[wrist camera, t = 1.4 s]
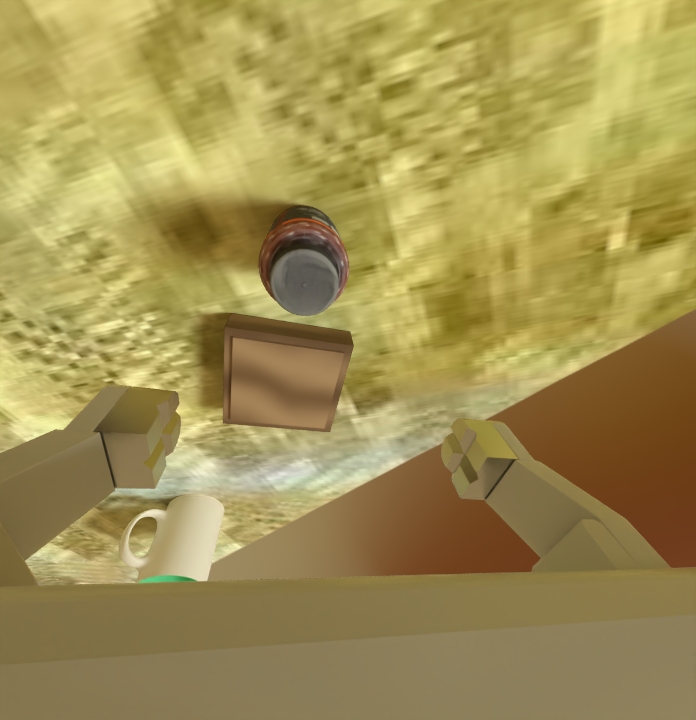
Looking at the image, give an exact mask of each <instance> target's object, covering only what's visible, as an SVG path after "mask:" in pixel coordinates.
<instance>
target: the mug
mask: <svg viewBox="0 0 696 720" xmlns="http://www.w3.org/2000/svg"><path fill="white" fill-rule="evenodd" d="M223 514H224V507H223V505H222V504H221V503H220V502H219V501H218V500H216V499H214V498H212V497H210V496H206V495H201V494H187V495H182V496H178V497H176V498H174V499H173V500H171V501H170V503H169V504H168V507H167V509H166V510H160V509H150V510H146V511H144V512H142V513H140V514H138V515H137V516H136V517H135V518H133V519H132V520H131V522H130V523H129V524H128V525H127V527H126V528H125V530H124V532H123V534H122V536H121V539H120V543H119V555H120V558H121V560H122V561H123V562H124V563H125V564H127V565H128V566H130V567H133V568H135V569H137V570H138V571H139V575H138V578H137V581H136V583H151V582H187V581H207V579H208V575H209V571H210V567H211V563H212V559H213V555H214V551H215V547H216V543H217V538H218V534H219V530H220V526H221V522H222V518H223ZM143 517H153V518H155V519H156V521H157V530H156V534H155V537H154V540H153V542H152V545H151V547H150V549H149V551H148V553H147V554H146V555H145V556H143V557H138V556H135V555H134V554H132V553H131V551H130V549H129V546H128V540H129V535H130V532H131V530H132V528H133V526H134V525H135V523H136V522H137V521H138V520H139V519H141V518H143Z"/></svg>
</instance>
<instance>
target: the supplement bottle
mask: <svg viewBox="0 0 696 720" xmlns="http://www.w3.org/2000/svg"><path fill="white" fill-rule="evenodd" d="M259 273H260V277H261V280H262V283H263V285H264V287H265V289H266V290H267V292H268V293H269V294H270V296H271V297H272V298H273V299H274V300H275V301H277V302H278V304H279V305H280V306H281V307H282V308H284V309H285V310H287V311H289V312H291V313H293V314H296V315H301V316H310V315H315V314H318V313H321V312H323V311H324V310H325V309H327V308H328V307H329V306H330V305H331V304H332V303H333V302H334V301H336V300H337V298H338V297H339V296H340V295H341V293H342V292H343V290H344V288H345V286H346V283H347V280H348V276H349V261H348V256H347V253H346V250H345V247H344V245H343V243H342V241H341V239H340V236H339V234H338V232H337V230H336V228H335V226H334V224H333V223H332V221H331V220H330V219H329V217H328V216H327V215H325V214H324V213H323V212H321V211H320V210H318V209H316V208H313V207H309V206H296V207H292V208H290V209H288V210H286V211H284V212H283V213H282V214H281V215H279V217H278V218H277V219H276V220H275V222H274V223H273V225H272V227H271V229H270V231H269V233H268V235H267V237H266V239H265V241H264V243H263V245H262V248H261V251H260V255H259Z"/></svg>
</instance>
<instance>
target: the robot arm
mask: <svg viewBox="0 0 696 720" xmlns="http://www.w3.org/2000/svg"><path fill="white" fill-rule="evenodd" d="M178 405H179V397H178V393H177V392H176V391H169V390H160V389H151V388H143V387H131V386H123V385H114V384H110V385H108V386H105V387H104V388H103V389H102V390H101V391H100V392H99V393H98V394H97V395H96V396H95V397H94V398H93V399H92V401H91V402H90V403H89V404H88V405H87V406H86V407H85V408H84V409H83V410H82V411H81V412H80V413H79V414H78V415H77V416H76V417H75V418H74V419H73V420H72V421H71V422H70V424H69V425H68V426H67V427H66V428H65V429H64V430H53V431H51V432H49V433H46V434H44V435H42V436H40V437H37V438H35V439H33V440H30V441H28V442H26V443H23V444H21V445H19V446H16V447H14V448H12V449H10V450H7V451H5V452H3V453H0V720H696V568H671V567H670V566H669V565H668V564H667V563H666V562H665V561H664V560H663V559H662V558H661V557H660V556H659V554H658V553H657V552H656V551H655V550H654V549H653V548H652V547H651V546H650V545H649V544H648V543H647V541H646V540H645V539H644V538H643V537H642V536H641V535H640V534H639V533H638V532H637V530H636V529H635V528H634V527H633V526H632V525H631V524H630V523H629V522H628V521H627V520H626V519H625V518H624V517H622V516H621V515H619V514H617V513H616V512H615V511H613V510H612V509H610V508H609V507H607V506H606V505H604V504H602V503H601V502H600V501H598V500H597V499H595V498H593V497H592V496H591V495H589V494H587V493H586V492H584V491H583V490H581V489H580V488H578V487H577V486H575V485H574V484H572V483H571V482H569V481H568V480H566V479H565V478H563V477H562V476H560V475H559V474H557V473H556V472H554V471H553V470H551V469H550V468H548V467H547V466H545V465H543V464H542V463H541V462H539V461H534V459H533V458H532V457H531V456H530V454H529V453H528V452H527V451H526V449H525V448H524V447H523V445H522V444H521V443H520V442H519V441H518V439H517V438H516V437H515V436H514V434H513V433H512V432H511V430H510V429H509V428H508V427H507V426H506V424H504V423H502V422H500V421H483V420H472V419H460V418H458V419H457V420H455V421H454V422H453V424H452V426H451V430H452V433H451V434H450V435H448V436H447V437H445V439H444V442H443V444H442V450H441V455H442V460H443V462H444V464H445V467H446V468H447V469H449V470H450V471H451V472H452V473H453V475H452V481H453V484H454V486H455V488H456V490H457V492H458V494H459V496H460V498H462V499H478V500H479V499H480V500H486V503H488V505H489V506H490V507H491V508H492V509H493V510H495V512H496V513H497V514H498V515H499V516H500V517H501V518H502V519H503V520H504V521H505V522H506V523H507V524H508V525H509V526H510V527H511V528H512V529H513V530H514V531H515V532H516V533H517V534H518V535H519V536H520V537H521V538H522V539H523V540H524V541H525V542H526V543H527V544H528V545H529V546H530V547H531V548H532V549H533V550H534V551H535V553H537V555H538V556H540V557H541V560H540V561H538V563H537V564H535V565H534V566H533V568H532V572H521V573H520V572H519V573H482V574H446V575H444V574H443V575H405V576H369V577H334V578H333V577H332V578H299V579H260V580H226V581H225V580H224V581H187V582H151V583H115V584H78V585H42V586H38V584H37V580H36V578H35V576H34V575H33V573H32V572H31V570H30V568H29V567H28V565H27V564H26V562H25V560H26V559H28V558H29V557H30V556H31V555H33V554H34V553H35V552H37V551H38V550H39V549H40V548H42V547H43V546H44V545H46V544H47V543H48V542H49V541H51V540H52V539H53V538H55V537H56V536H57V535H58V534H60V533H61V532H62V531H64V530H65V529H66V528H67V527H69V526H70V525H71V524H72V523H74V522H75V521H76V520H78V519H79V518H80V517H81V516H83V515H84V514H85V513H87V512H88V511H89V510H90V509H92V508H93V507H94V506H96V505H97V504H98V503H99V502H101V501H102V500H103V499H105V498H106V497H107V496H108V495H110V494H111V493H112V492H113V491H115V488H151V489H155V488H156V486H157V484H158V482H159V480H160V477H161V475H162V473H163V471H164V469H165V467H166V459H165V457H166V456H167V455H169V454H170V453H172V452H173V451H174V448H175V446H176V444H177V441H178V438H179V434H180V426H181V420H180V416H179V415H178V414H177V413H176V412H175V411H176V409H177V407H178Z"/></svg>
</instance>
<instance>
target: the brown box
mask: <svg viewBox="0 0 696 720" xmlns="http://www.w3.org/2000/svg"><path fill="white" fill-rule="evenodd" d="M353 347H354V345H353V341H352V337H351V333H350V332H349V331H343V330H336V329H330V328H324V327H317V326H311V325H305V324H298V323H292V322H286V321H279V320H273V319H267V318H260V317H254V316H248V315H241V314H235V313H231V315H230V317H229V319H228V321H227V323H226V325H225V327H224V389H223V423H226V424H238V425H250V426H262V427H274V428H286V429H298V430H310V431H321V432H330V430H331V426H332V423H333V419H334V416H335V412H336V408H337V405H338V401H339V397H340V394H341V390H342V387H343V383H344V379H345V376H346V372H347V368H348V365H349V361H350V358H351V354H352V350H353Z"/></svg>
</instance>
